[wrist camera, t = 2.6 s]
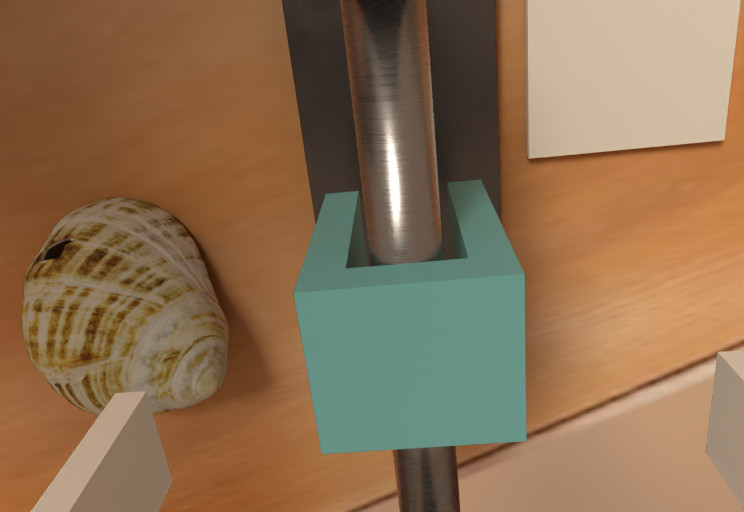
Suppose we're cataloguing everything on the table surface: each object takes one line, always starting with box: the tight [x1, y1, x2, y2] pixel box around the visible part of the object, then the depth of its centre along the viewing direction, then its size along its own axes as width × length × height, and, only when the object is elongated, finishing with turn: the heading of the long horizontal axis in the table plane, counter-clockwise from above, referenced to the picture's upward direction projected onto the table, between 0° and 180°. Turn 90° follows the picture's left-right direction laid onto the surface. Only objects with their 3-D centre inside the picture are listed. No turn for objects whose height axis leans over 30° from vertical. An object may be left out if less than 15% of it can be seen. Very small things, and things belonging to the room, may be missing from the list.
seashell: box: [21, 197, 229, 416], centre depth 31 cm, size 10×10×10 cm
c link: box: [294, 180, 526, 454], centre depth 20 cm, size 5×6×8 cm
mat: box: [525, 0, 741, 159], centre depth 27 cm, size 10×9×1 cm
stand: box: [282, 0, 500, 512], centre depth 23 cm, size 24×9×17 cm, turn 6°
